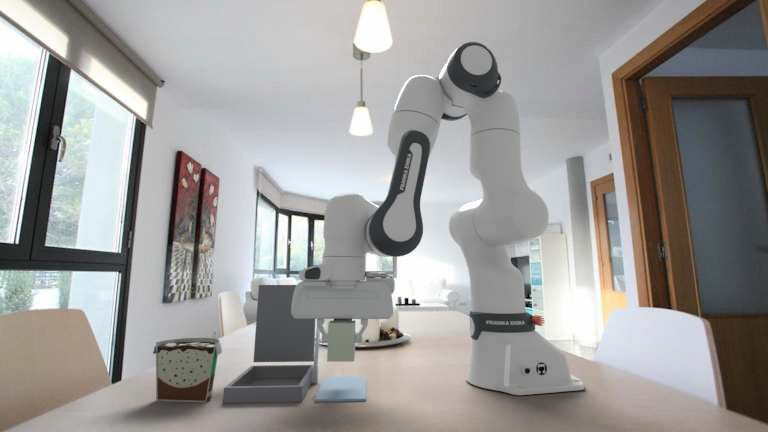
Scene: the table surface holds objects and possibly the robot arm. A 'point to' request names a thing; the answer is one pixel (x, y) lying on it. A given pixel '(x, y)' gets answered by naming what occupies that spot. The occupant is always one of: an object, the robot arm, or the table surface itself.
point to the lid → (281, 328)
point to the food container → (186, 369)
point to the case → (252, 394)
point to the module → (341, 340)
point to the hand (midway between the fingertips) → (342, 342)
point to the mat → (342, 389)
